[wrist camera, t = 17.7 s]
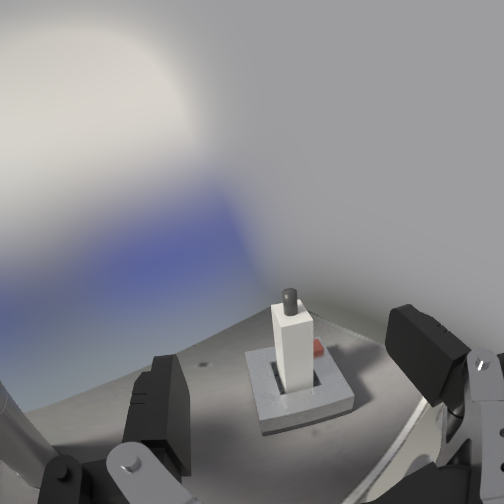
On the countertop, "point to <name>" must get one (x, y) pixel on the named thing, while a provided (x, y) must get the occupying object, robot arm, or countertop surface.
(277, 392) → the socket box
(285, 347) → the plug
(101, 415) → the countertop surface
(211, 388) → the countertop surface
